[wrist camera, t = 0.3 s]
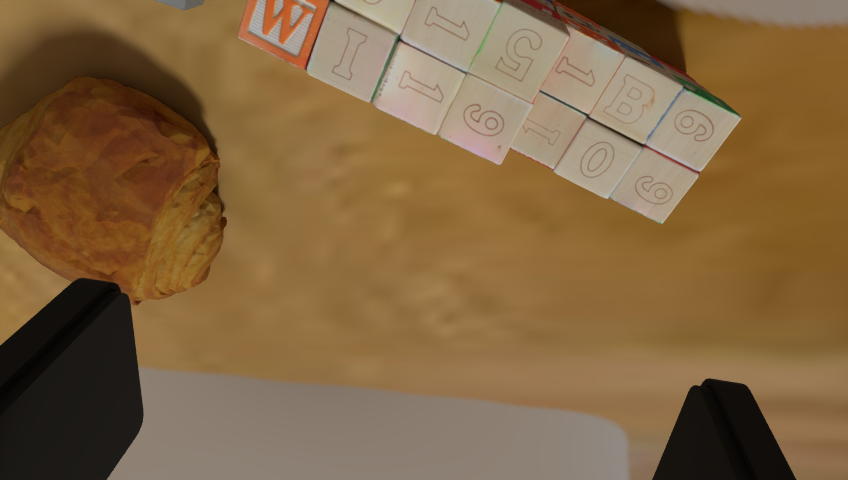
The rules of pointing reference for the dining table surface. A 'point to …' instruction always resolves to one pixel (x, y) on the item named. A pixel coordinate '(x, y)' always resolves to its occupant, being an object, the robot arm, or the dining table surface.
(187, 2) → the base plate
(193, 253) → the croissant
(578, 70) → the stack of blocks
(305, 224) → the dining table surface
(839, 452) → the dining table surface
